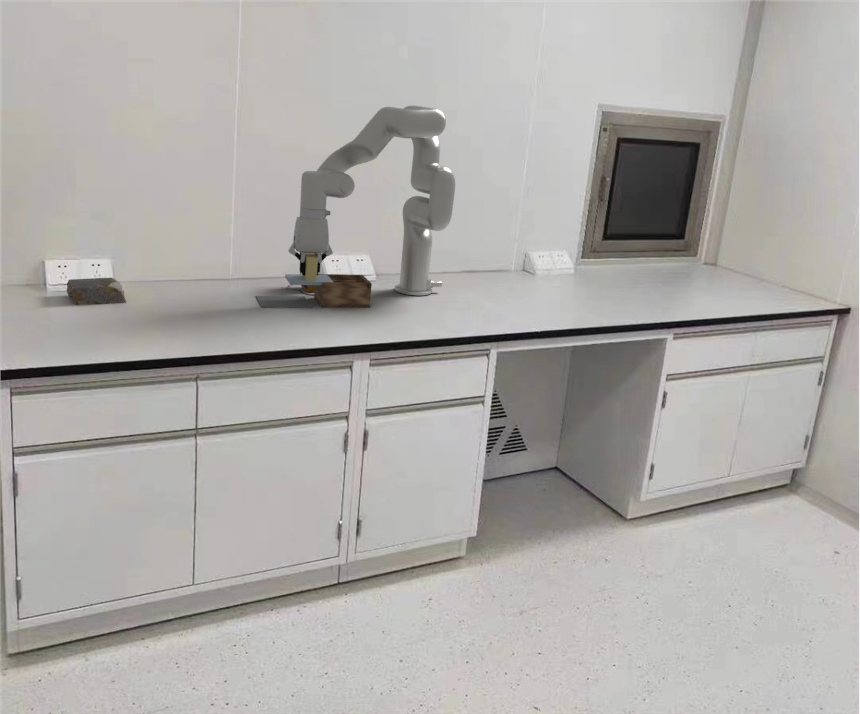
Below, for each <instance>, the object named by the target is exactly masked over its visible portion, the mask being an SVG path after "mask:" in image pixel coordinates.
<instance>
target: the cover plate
mask: <svg viewBox="0 0 860 714" xmlns="http://www.w3.org/2000/svg"><path fill="white" fill-rule="evenodd" d="M305 263H306V271H305V276H303V275H302V274H301V275H300V273H298V274H295V273H293V274H292V273H291V274H288V273H285V275H284V278H285V279H286V281H287V282H288V284H289V285H291V286H301V285H323V282H333V281H332V280H331V279H330V277H329V276H328V275H318V276H317V265H318V257H317V256H316V255H315V254H314V253H306V255H305Z"/></svg>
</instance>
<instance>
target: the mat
mask: <svg viewBox="0 0 860 714" xmlns="http://www.w3.org/2000/svg"><path fill="white" fill-rule="evenodd" d="M255 298H256V300H257V299H258V300H257V302H258V301H259V302H258V304H259V303H260V304H259V306H260V305H261V306H260V307H261V308H276V307H282V308H283V307H284V309H287V308H291V309H292V308H293V309H294V308H297V309H298V308H299V309H301V308H302V309H304V308H311V309H312V308H313V306H312V305H311V303H310V302H309V300H308V299H307V298H306V296H302V295H301V296H298V295H297V296H295V295H294V296H293V295H288V296H287V295H256V296H255Z"/></svg>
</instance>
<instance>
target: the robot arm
mask: <svg viewBox="0 0 860 714" xmlns="http://www.w3.org/2000/svg"><path fill="white" fill-rule="evenodd" d="M446 125H447V119H446V116H445V114H444V112H442V110H440V109H437V108H434V107H428V106H426V107H425V106H421V105H407V106H405V107H403V108H401V107H395V106H384V107H381V108H380V109H379V110H377V112H376V113H375V114H373V116H372V117H371V119H370V120H369V121H368V122H367V123H366V125H365V126H364V127H363V128H362V130H361V131H360V132H359V133H358V135H357V136H355V138H353V140H351V141H350V142H348V143H345V144H344V145H343V146H341V147H340V148H338V149H336V150H335V151H333V152H332V153H331V154H330V155H328V157H326V158H325V160H324V161H323V162H322V163H321V164H320V166H319V167H318V168H317V169H316V170H306V171H303V172H302V174H301V182H300V183H301V185H300V200H299V201H300V203H299V204H300V205H299V206H300V207H299V216H296V219H295V223H294V230H293V240H292V244H291V245H290V246H289V249H288V253H289V254H291V255H292V256H294V257H296V258H297V259H298V260H299V273H300V272H301V275H303V276H305V271H306V263H305V255H306V252H310V253H316V256H317V257H318V265H317V276H318V274H321V264H322V262H323V261H324V260H325V259H326V258H327V257H329V256H331V255H333V253H334V252H333V250H332V247H331V246H330V242H329V241H330V239H329V238H330V236H329V235H330V233H329V222H328V218H327V217H328V216H331V210H328V209H327V198H328V197H330V198H336V199H337V198H338V199H345V198H348V197H349V196H351V195H352V194H353V193H354V190H355V182H354V179H353V178H352V176H351V175H349V174H348V173H345V172H346V171H348V170H349V169H351V168H353V167H355V166H358V165H362V164H365V163H369V162H371V161H374V160H375V159H377V158H378V157H379V156H380V154H381V153H382V152H383V150H384V149H385V148H386V147H387V145H388V144H389V143H390V142H391V141H392V140H393V139H394V138H401V139H411V141H412V146H413V149H412V150H413V154H412V163H411V171H410V172H411V173H410V184H411V188H413V189H414V190H415V191H416V192H418V193H419V192H420V193H423V194H427V195H429V197H426V196H423V195H414V196H411V197H409V198H408V199H407V200H406V201H405V202H404V204H403V207H402V221H403V238H402V239H403V240H402V252H401V263H400V275H399V276H400V277H399V283H398V284H396V285H395V286H394V291H395V292H397V293H400V294H402V295H408V296H418V297H419V296H420V297H421V296H428V295H431V294H432V293H433V289H432V288H442V286H443V283H442V281H438V280H432V279H430V278H429V276H430V265H431V257H432V247H433V234H432V231H434V232H441V231H444V230H445V229H446V228H447V227H448V226H449V224H450V222H451V220H452V215H453V209H454V199H455V194H456V193H455V191H456V178H455V175H454V173H453V171H452V170H451V169H450V168H448V167H447V166H444V165H440V154H441V153H440V152H441V144H440V139H439V136H440V135H441V134H442V133H443V132H444V131H445V128H446Z"/></svg>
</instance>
